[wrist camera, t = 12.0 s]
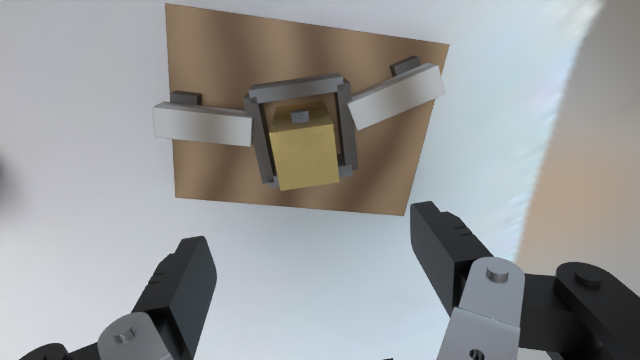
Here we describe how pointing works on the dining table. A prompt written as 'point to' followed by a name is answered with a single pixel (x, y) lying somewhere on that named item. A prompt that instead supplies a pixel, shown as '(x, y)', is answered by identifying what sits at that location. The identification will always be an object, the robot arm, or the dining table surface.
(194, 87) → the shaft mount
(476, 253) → the robot arm
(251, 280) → the dining table surface
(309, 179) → the tan block with knob
